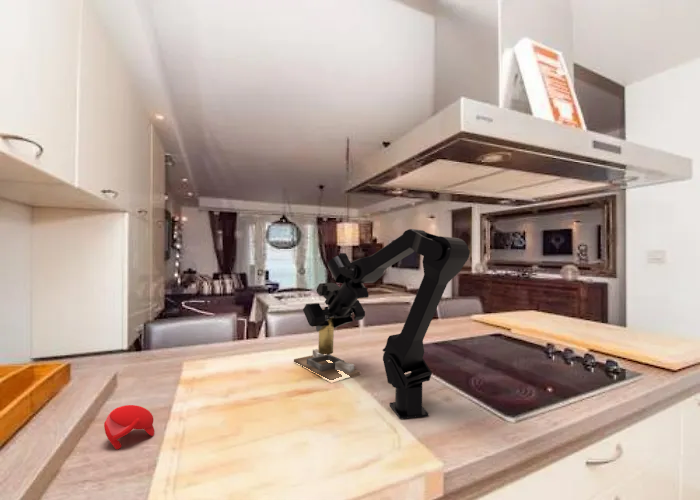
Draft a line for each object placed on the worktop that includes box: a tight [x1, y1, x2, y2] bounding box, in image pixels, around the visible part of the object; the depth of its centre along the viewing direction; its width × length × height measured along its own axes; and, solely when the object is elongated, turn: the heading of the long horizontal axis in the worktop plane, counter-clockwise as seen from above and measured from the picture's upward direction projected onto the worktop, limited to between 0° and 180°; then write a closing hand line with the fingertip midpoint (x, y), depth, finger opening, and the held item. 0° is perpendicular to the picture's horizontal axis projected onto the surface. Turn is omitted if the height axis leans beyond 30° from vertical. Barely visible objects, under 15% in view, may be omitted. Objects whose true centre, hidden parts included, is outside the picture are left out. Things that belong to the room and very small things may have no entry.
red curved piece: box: [103, 404, 155, 450], centre depth 55 cm, size 8×6×6 cm
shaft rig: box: [293, 348, 361, 380], centre depth 93 cm, size 20×10×3 cm, turn 39°
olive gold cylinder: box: [317, 308, 335, 355], centre depth 93 cm, size 4×4×12 cm
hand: (323, 328), depth 94 cm, fingers closed on olive gold cylinder, 4 cm apart
